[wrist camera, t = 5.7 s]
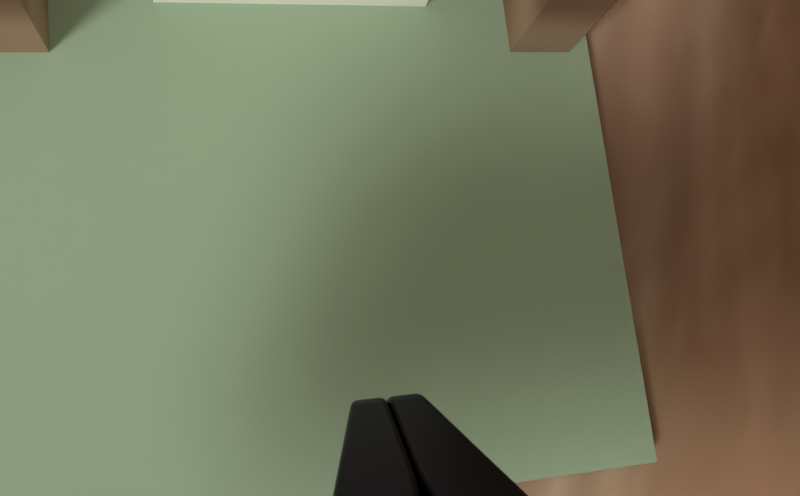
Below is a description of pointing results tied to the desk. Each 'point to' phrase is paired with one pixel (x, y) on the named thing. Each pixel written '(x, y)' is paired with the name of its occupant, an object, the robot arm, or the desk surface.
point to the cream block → (313, 2)
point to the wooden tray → (523, 5)
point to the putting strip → (302, 247)
